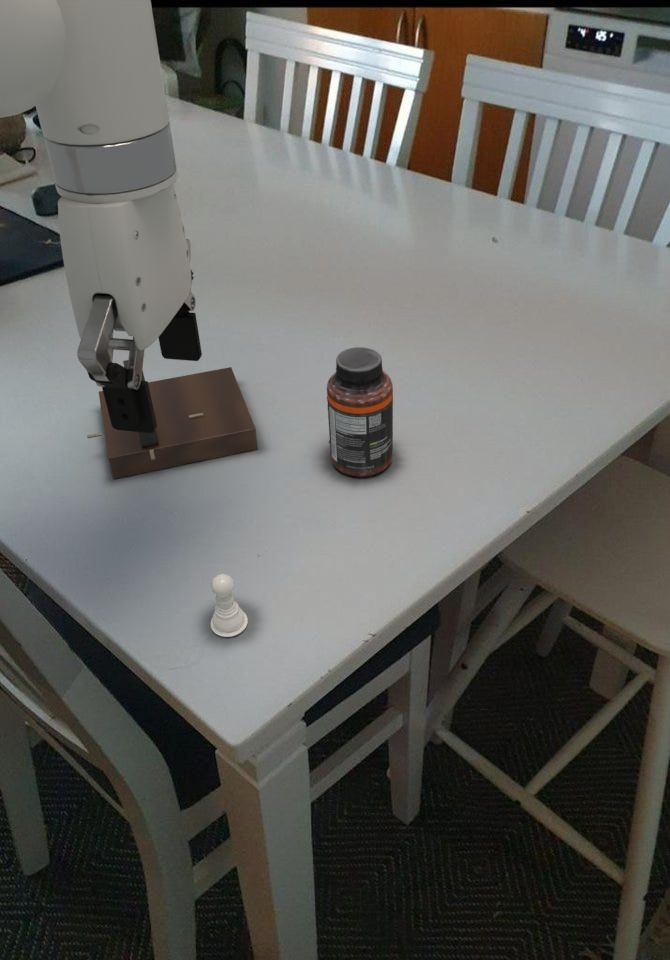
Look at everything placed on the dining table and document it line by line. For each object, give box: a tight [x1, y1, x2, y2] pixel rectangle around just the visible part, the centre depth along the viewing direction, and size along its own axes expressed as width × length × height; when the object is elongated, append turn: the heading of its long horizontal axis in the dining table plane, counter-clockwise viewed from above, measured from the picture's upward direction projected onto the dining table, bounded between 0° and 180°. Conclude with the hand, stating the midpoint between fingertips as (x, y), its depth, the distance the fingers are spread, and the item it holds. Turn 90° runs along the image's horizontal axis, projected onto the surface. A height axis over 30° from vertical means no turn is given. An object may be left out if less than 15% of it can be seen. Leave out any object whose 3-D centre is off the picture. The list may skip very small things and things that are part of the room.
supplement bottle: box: [326, 346, 394, 478], centre depth 74 cm, size 6×6×11 cm
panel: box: [86, 366, 259, 480], centre depth 81 cm, size 16×14×3 cm
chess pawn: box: [210, 573, 249, 638], centre depth 61 cm, size 3×3×5 cm
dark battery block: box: [122, 359, 159, 448], centre depth 77 cm, size 7×2×6 cm, turn 17°
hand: (160, 391), depth 61 cm, fingers open, 9 cm apart
